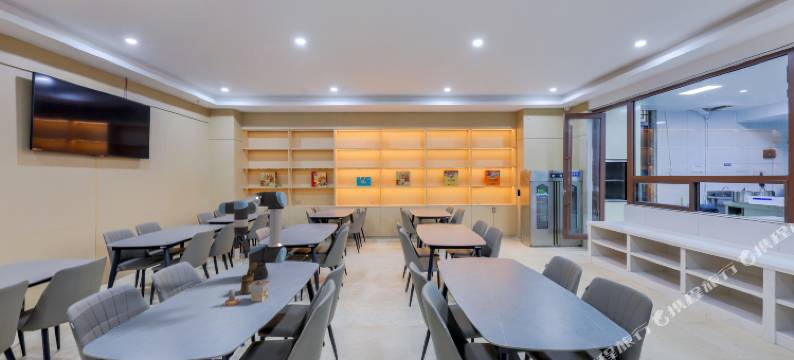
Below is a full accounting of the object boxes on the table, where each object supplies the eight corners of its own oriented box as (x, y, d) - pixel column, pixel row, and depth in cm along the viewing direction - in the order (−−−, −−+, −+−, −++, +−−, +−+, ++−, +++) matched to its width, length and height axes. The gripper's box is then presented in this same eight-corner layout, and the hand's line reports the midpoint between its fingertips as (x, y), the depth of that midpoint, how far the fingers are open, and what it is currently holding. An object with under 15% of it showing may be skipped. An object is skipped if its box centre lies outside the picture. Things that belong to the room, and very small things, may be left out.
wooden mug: (262, 287, 208) (261, 261, 208) (249, 295, 195) (248, 267, 195) (250, 287, 210) (250, 261, 210) (236, 294, 197) (236, 266, 196)
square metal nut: (256, 286, 194) (256, 280, 194) (270, 287, 193) (270, 280, 193) (248, 292, 185) (248, 285, 185) (262, 292, 184) (262, 286, 184)
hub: (230, 300, 186) (230, 287, 186) (241, 301, 186) (241, 288, 186) (222, 305, 179) (222, 292, 179) (233, 306, 179) (233, 292, 178)
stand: (257, 296, 193) (257, 279, 193) (268, 297, 192) (268, 279, 192) (251, 301, 186) (251, 283, 186) (262, 301, 185) (262, 283, 185)
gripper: (227, 224, 189) (227, 258, 189) (242, 229, 172) (242, 266, 172) (239, 223, 194) (239, 256, 195) (256, 227, 177) (256, 264, 178)
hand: (241, 261), depth 183 cm, fingers open, 13 cm apart
